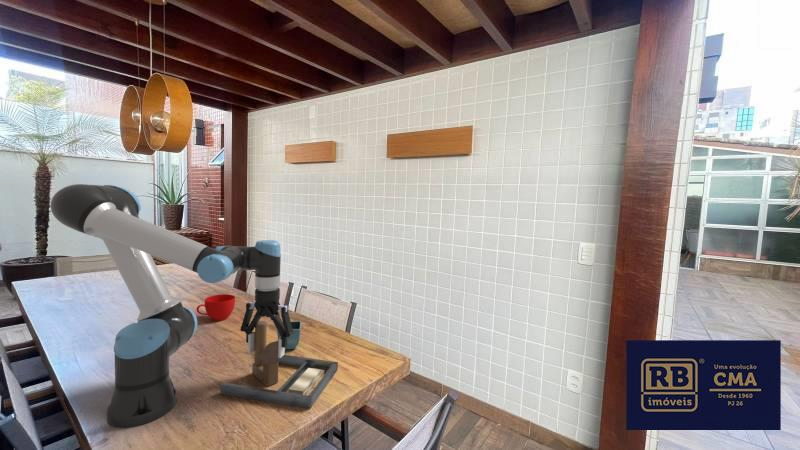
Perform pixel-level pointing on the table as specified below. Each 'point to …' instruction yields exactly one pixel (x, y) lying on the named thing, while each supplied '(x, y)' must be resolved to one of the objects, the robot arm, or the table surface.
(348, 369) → the table surface
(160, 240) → the robot arm
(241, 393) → the tray
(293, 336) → the flower pot
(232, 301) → the ceramic cup
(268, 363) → the wooden block
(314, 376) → the offcut stack
